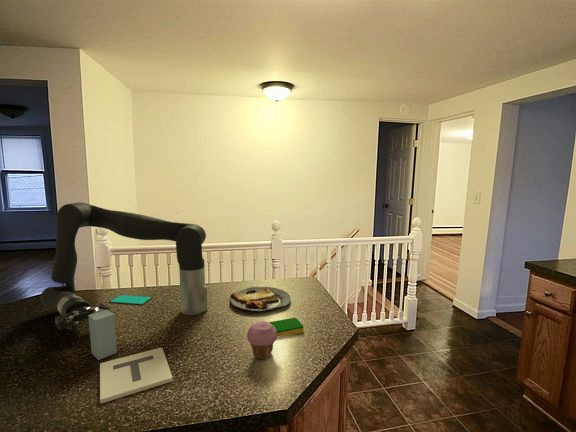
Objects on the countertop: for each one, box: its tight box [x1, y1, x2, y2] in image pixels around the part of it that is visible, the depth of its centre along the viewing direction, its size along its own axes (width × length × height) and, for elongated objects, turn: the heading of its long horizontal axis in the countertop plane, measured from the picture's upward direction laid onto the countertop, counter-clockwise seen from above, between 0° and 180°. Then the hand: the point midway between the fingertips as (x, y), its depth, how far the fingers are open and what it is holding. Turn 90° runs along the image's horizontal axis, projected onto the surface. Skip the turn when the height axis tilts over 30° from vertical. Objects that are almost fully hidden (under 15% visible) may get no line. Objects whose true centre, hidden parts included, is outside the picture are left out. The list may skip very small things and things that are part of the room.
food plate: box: [228, 286, 291, 312], centre depth 130 cm, size 25×23×4 cm
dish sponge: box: [268, 317, 305, 338], centre depth 107 cm, size 7×14×2 cm, turn 112°
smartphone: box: [108, 294, 153, 306], centre depth 130 cm, size 7×1×15 cm
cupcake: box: [246, 320, 278, 360], centre depth 92 cm, size 9×9×10 cm
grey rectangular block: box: [88, 309, 118, 361], centre depth 92 cm, size 5×5×12 cm
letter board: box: [99, 347, 174, 404], centre depth 84 cm, size 16×16×1 cm
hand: (91, 322), depth 98 cm, fingers open, 8 cm apart
